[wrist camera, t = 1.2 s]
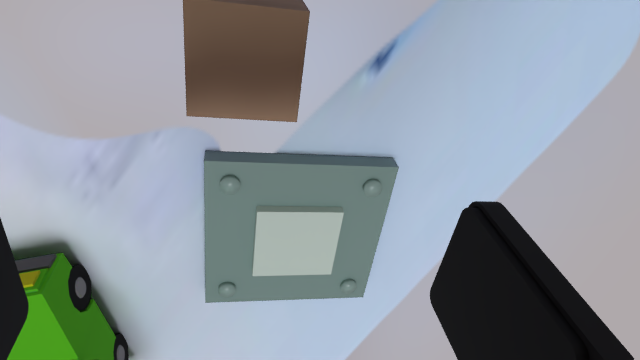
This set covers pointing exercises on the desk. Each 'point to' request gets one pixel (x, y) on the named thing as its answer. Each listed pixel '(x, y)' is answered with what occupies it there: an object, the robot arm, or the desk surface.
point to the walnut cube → (244, 58)
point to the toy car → (63, 315)
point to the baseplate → (292, 224)
